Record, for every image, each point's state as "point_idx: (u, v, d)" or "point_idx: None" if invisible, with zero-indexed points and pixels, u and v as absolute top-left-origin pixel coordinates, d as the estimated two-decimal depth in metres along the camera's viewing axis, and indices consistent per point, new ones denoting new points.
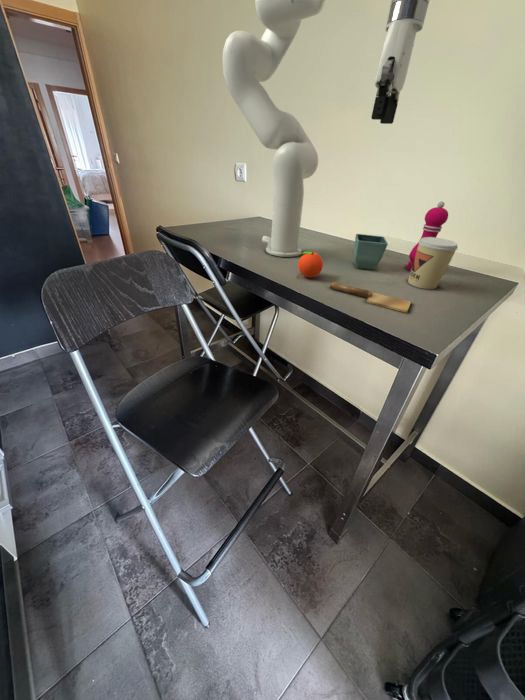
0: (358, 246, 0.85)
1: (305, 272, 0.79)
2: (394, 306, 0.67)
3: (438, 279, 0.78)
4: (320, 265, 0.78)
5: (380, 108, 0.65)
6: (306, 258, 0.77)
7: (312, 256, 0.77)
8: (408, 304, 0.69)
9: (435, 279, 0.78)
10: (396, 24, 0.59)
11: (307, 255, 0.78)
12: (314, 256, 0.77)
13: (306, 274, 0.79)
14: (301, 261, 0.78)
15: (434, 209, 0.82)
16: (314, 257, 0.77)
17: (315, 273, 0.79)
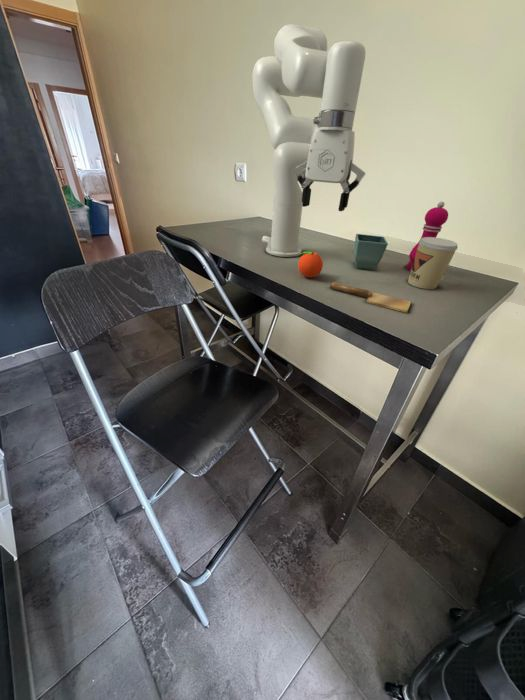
0: (358, 246, 0.85)
1: (305, 272, 0.79)
2: (394, 306, 0.67)
3: (438, 279, 0.78)
4: (320, 265, 0.78)
5: (347, 202, 0.70)
6: (306, 258, 0.77)
7: (312, 256, 0.77)
8: (408, 304, 0.69)
9: (435, 279, 0.78)
10: (353, 133, 0.62)
11: (307, 255, 0.78)
12: (314, 256, 0.77)
13: (306, 274, 0.79)
14: (301, 261, 0.78)
15: (434, 209, 0.82)
16: (314, 257, 0.77)
17: (315, 273, 0.79)
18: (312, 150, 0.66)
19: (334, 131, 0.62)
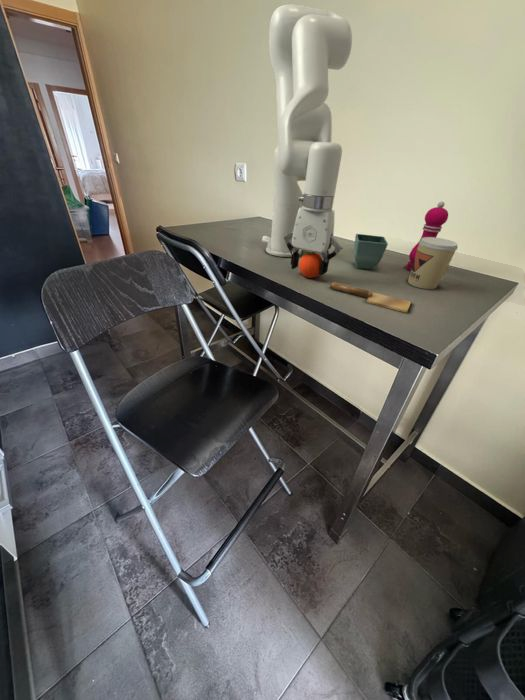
0: (358, 246, 0.85)
1: (306, 272, 0.79)
2: (394, 306, 0.67)
3: (438, 279, 0.78)
4: None
5: (326, 268, 0.78)
6: (306, 258, 0.77)
7: (313, 256, 0.77)
8: (408, 304, 0.69)
9: (435, 279, 0.78)
10: (333, 213, 0.70)
11: (308, 255, 0.78)
12: (315, 256, 0.77)
13: (307, 274, 0.79)
14: (302, 261, 0.78)
15: (434, 209, 0.82)
16: (314, 257, 0.77)
17: (316, 273, 0.79)
18: (297, 224, 0.74)
19: (316, 211, 0.70)
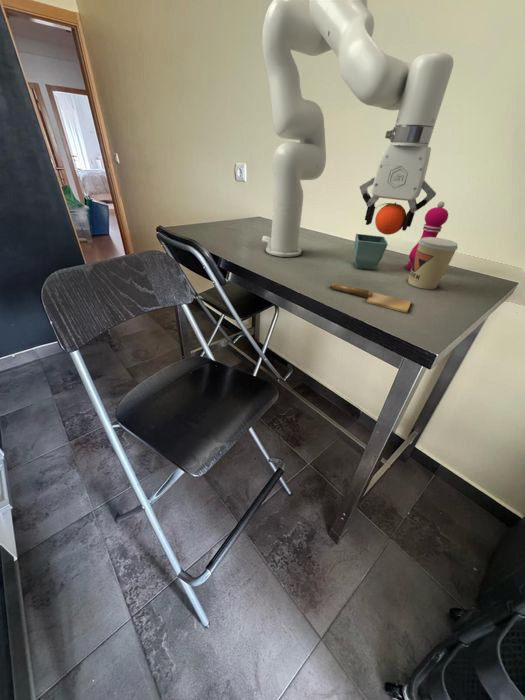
0: (358, 246, 0.85)
1: (386, 227, 0.67)
2: (394, 306, 0.67)
3: (438, 279, 0.78)
4: (404, 218, 0.66)
5: (411, 221, 0.67)
6: (388, 209, 0.66)
7: (396, 207, 0.66)
8: (408, 304, 0.69)
9: (435, 279, 0.78)
10: (430, 149, 0.58)
11: (390, 205, 0.66)
12: (398, 207, 0.66)
13: (386, 229, 0.68)
14: (382, 213, 0.67)
15: (434, 209, 0.82)
16: (398, 208, 0.66)
17: (397, 228, 0.67)
18: (382, 166, 0.63)
19: (410, 147, 0.58)
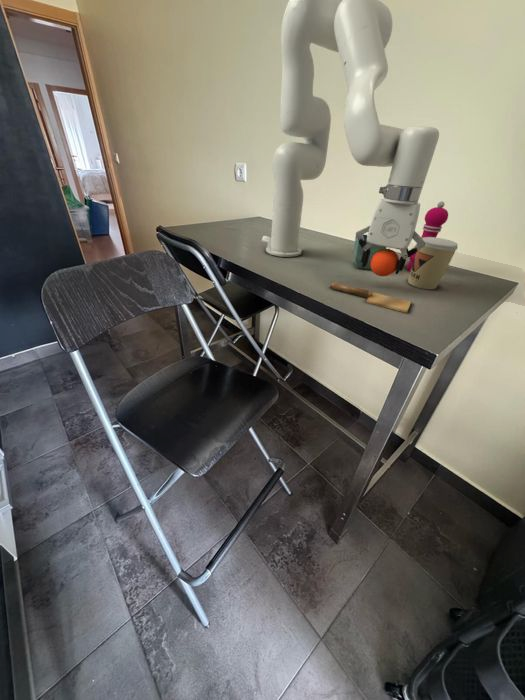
0: (358, 246, 0.85)
1: (380, 270, 0.73)
2: (394, 306, 0.67)
3: (438, 279, 0.78)
4: (397, 263, 0.72)
5: (403, 266, 0.72)
6: (382, 255, 0.72)
7: (389, 253, 0.71)
8: (408, 304, 0.69)
9: (435, 279, 0.78)
10: None
11: (384, 252, 0.72)
12: (391, 253, 0.71)
13: (381, 273, 0.73)
14: (376, 258, 0.73)
15: (434, 209, 0.82)
16: (391, 254, 0.71)
17: (391, 271, 0.73)
18: (376, 218, 0.68)
19: (401, 204, 0.64)
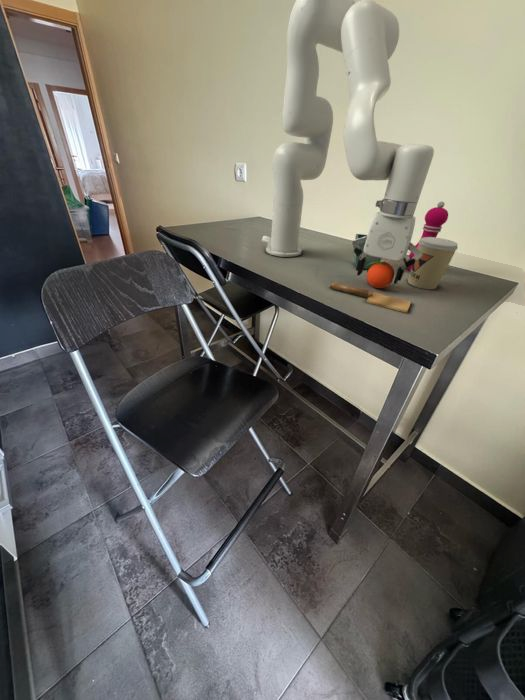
0: None
1: (376, 283, 0.75)
2: (394, 306, 0.67)
3: (438, 279, 0.78)
4: (392, 276, 0.74)
5: (401, 276, 0.74)
6: (378, 268, 0.74)
7: (385, 266, 0.73)
8: (408, 304, 0.69)
9: (435, 279, 0.78)
10: None
11: (380, 265, 0.74)
12: (387, 266, 0.73)
13: (377, 285, 0.75)
14: (372, 271, 0.75)
15: (434, 209, 0.82)
16: (387, 267, 0.73)
17: (386, 284, 0.75)
18: (372, 230, 0.70)
19: (397, 218, 0.66)
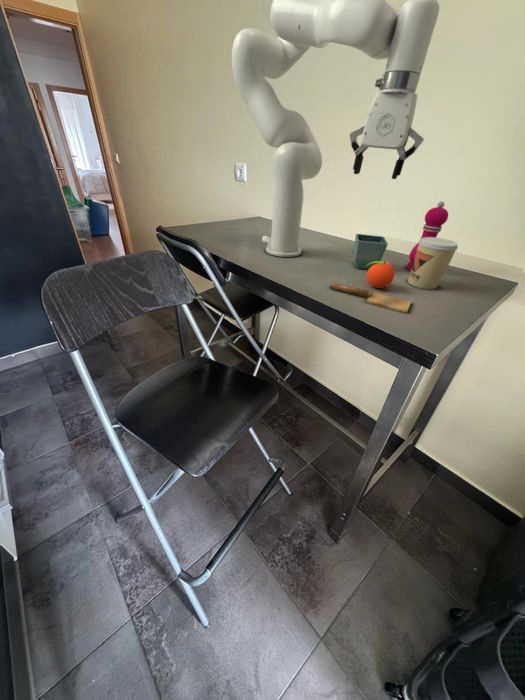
0: (358, 246, 0.85)
1: (376, 283, 0.75)
2: (394, 306, 0.67)
3: (438, 279, 0.78)
4: (393, 275, 0.74)
5: (400, 170, 0.70)
6: (378, 268, 0.74)
7: (385, 266, 0.73)
8: (408, 304, 0.69)
9: (435, 279, 0.78)
10: (416, 96, 0.62)
11: (380, 265, 0.74)
12: (387, 266, 0.73)
13: (377, 285, 0.75)
14: (372, 271, 0.75)
15: (434, 209, 0.82)
16: (387, 267, 0.73)
17: (387, 284, 0.75)
18: (371, 114, 0.66)
19: (397, 94, 0.62)
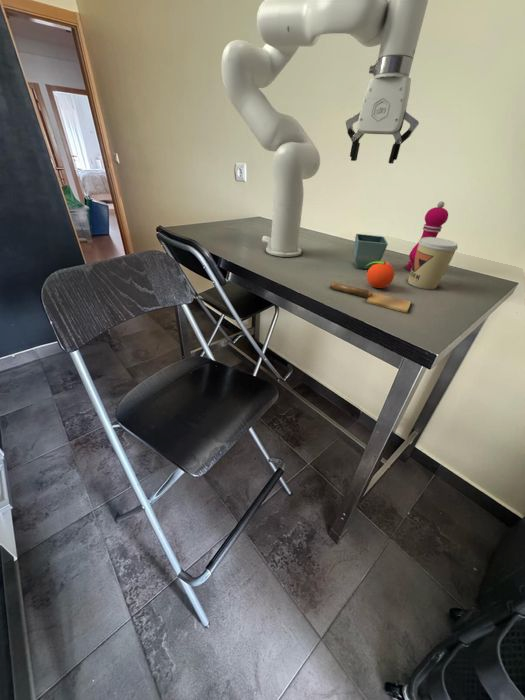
0: (358, 246, 0.85)
1: (376, 283, 0.75)
2: (394, 306, 0.67)
3: (438, 279, 0.78)
4: (393, 275, 0.74)
5: (397, 154, 0.71)
6: (378, 268, 0.74)
7: (385, 266, 0.73)
8: (408, 304, 0.69)
9: (435, 279, 0.78)
10: (410, 80, 0.63)
11: (380, 265, 0.74)
12: (387, 266, 0.73)
13: (377, 285, 0.75)
14: (372, 271, 0.75)
15: (434, 209, 0.82)
16: (387, 267, 0.73)
17: (387, 284, 0.75)
18: (366, 100, 0.67)
19: (391, 78, 0.63)
